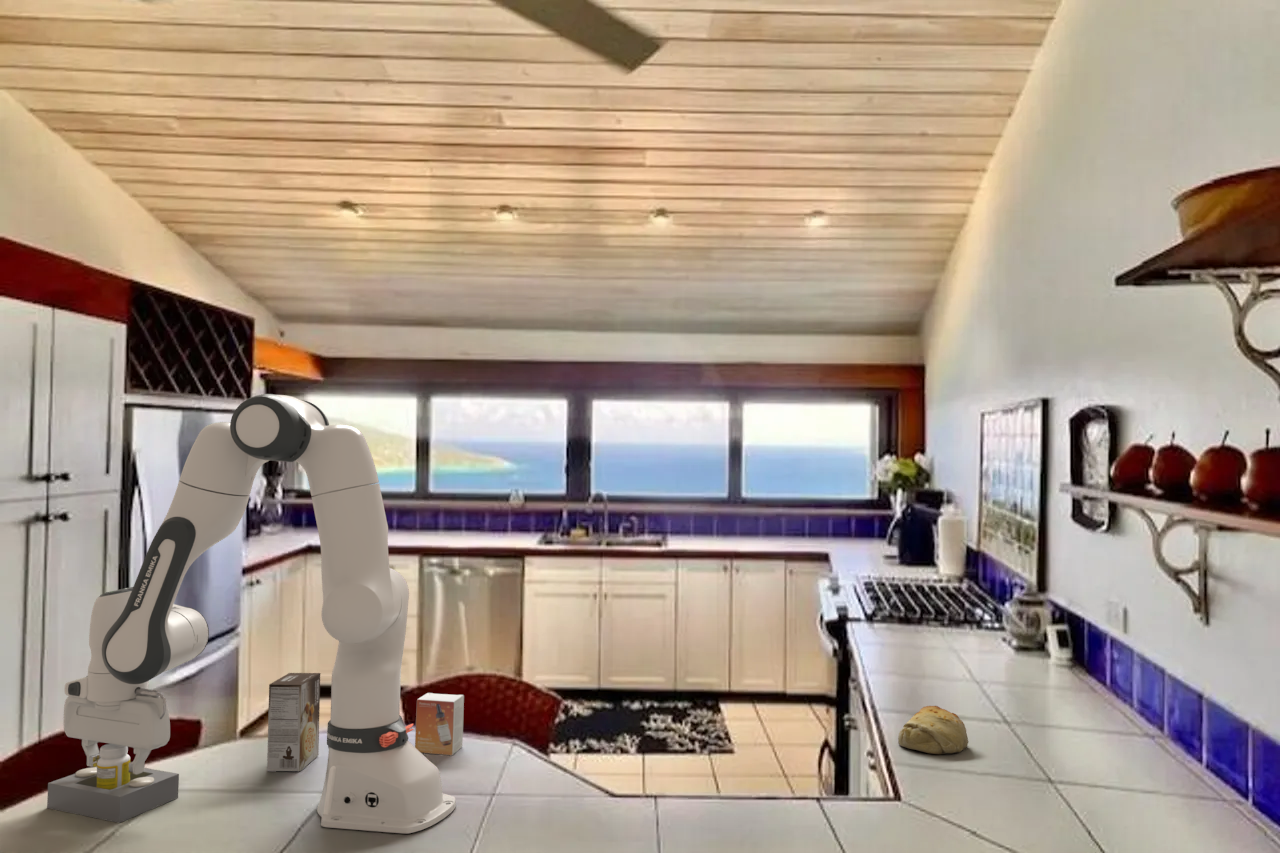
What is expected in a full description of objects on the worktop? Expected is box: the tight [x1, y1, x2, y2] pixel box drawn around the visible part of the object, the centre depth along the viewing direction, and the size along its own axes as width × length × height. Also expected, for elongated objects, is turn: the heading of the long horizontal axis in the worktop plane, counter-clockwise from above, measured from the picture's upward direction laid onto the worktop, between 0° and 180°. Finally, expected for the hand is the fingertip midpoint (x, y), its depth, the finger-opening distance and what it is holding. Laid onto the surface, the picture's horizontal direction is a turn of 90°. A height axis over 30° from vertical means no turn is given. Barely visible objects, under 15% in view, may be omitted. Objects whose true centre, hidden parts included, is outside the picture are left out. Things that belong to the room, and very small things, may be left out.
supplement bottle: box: [97, 743, 131, 790], centre depth 144 cm, size 5×5×8 cm
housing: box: [46, 766, 180, 824], centre depth 144 cm, size 16×11×4 cm
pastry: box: [897, 705, 969, 755], centre depth 179 cm, size 14×12×8 cm
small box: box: [414, 692, 465, 757], centre depth 173 cm, size 8×6×10 cm
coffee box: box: [266, 672, 322, 772], centre depth 164 cm, size 9×6×16 cm
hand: (115, 769), depth 144 cm, fingers open, 8 cm apart
